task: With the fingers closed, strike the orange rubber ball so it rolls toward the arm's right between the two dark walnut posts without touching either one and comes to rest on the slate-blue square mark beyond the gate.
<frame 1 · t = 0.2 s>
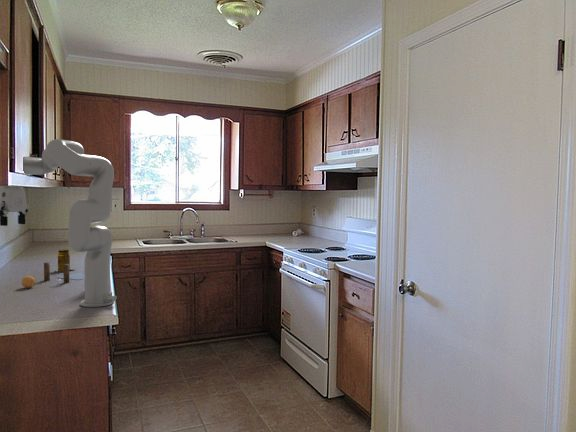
hand: (12, 224, 193), 30 cm above the countertop, tool pointing down, fingers open, 9 cm apart
ball: (28, 281, 206), on the countertop
right post: (66, 282, 219), on the countertop
left post: (46, 280, 223), on the countertop
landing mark: (78, 276, 234), on the countertop
condiment: (65, 271, 251), on the countertop
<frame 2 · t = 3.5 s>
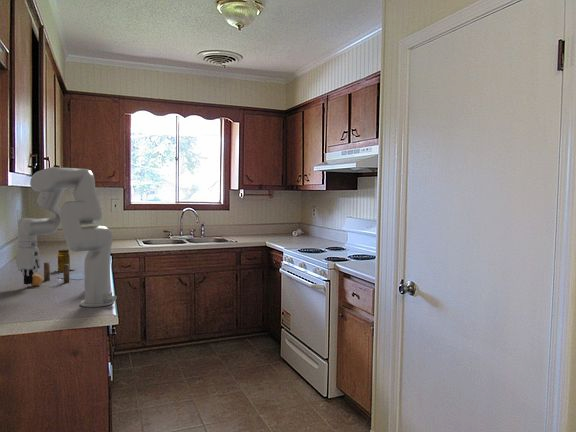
hand: (28, 283, 206), 2 cm above the countertop, tool pointing down, fingers closed
ball: (35, 280, 210), on the countertop
everything else where it was.
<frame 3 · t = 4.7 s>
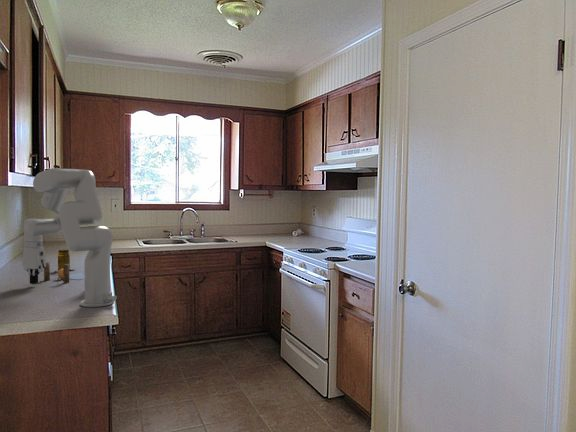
hand: (34, 283, 209), 2 cm above the countertop, tool pointing down, fingers closed
ball: (63, 273, 227), on the countertop
everything else where it was.
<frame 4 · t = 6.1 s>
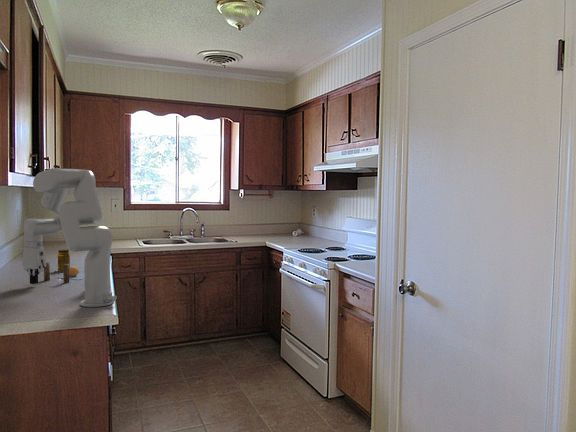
hand: (34, 283, 209), 2 cm above the countertop, tool pointing down, fingers closed
ball: (72, 271, 234), on the countertop
everything else where it was.
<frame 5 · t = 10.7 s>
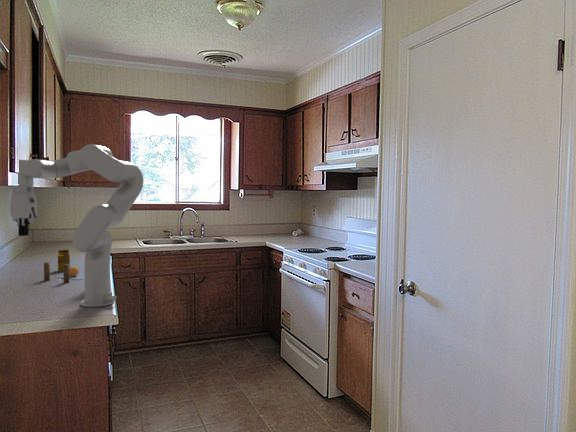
hand: (23, 235, 180), 27 cm above the countertop, tool pointing down, fingers closed
nothing on the countertop moved.
at the end: ball 2.6 cm from the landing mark (horizontally); ball never touched left post; ball never touched right post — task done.
